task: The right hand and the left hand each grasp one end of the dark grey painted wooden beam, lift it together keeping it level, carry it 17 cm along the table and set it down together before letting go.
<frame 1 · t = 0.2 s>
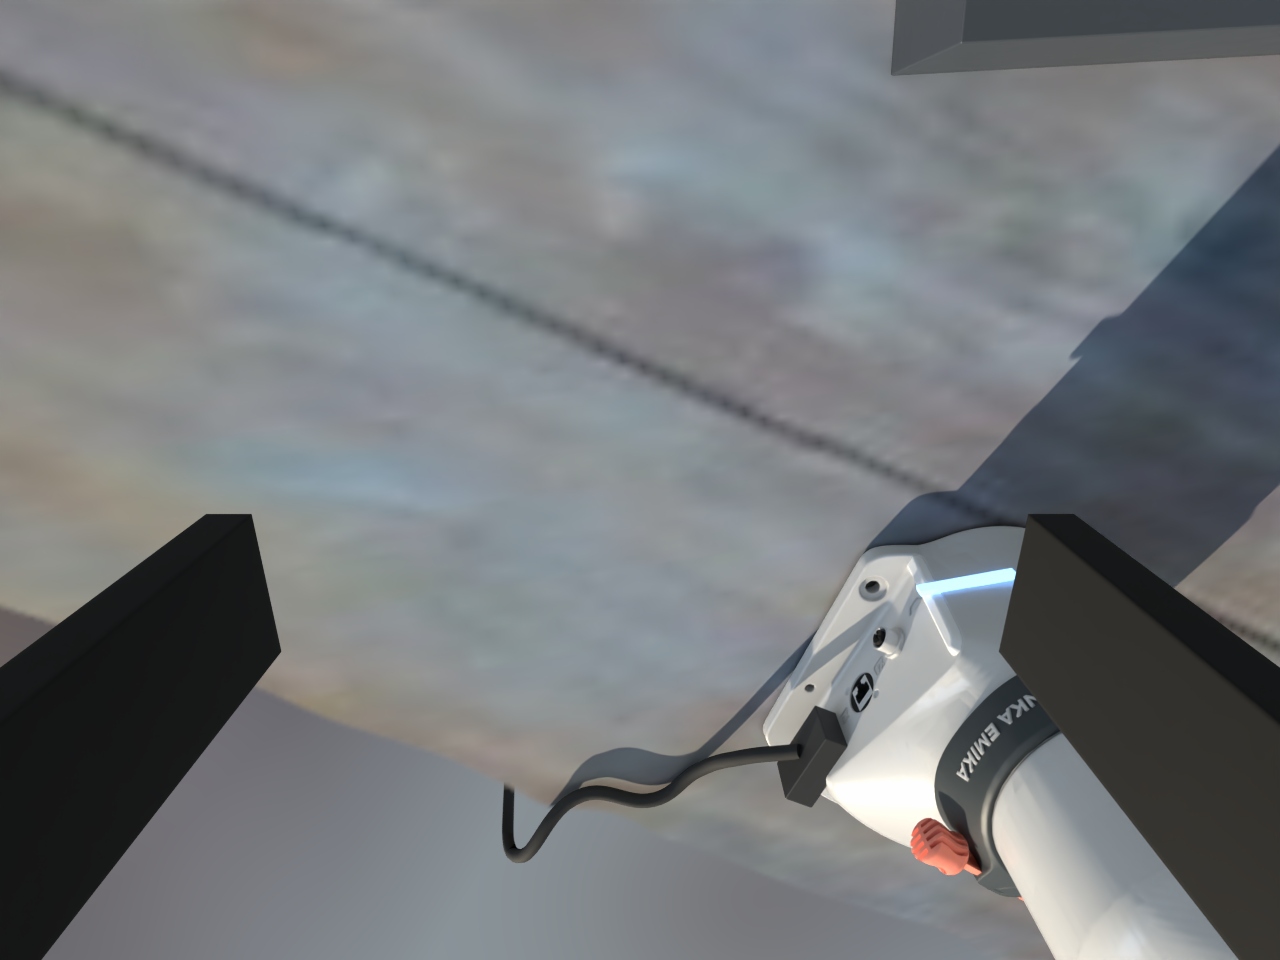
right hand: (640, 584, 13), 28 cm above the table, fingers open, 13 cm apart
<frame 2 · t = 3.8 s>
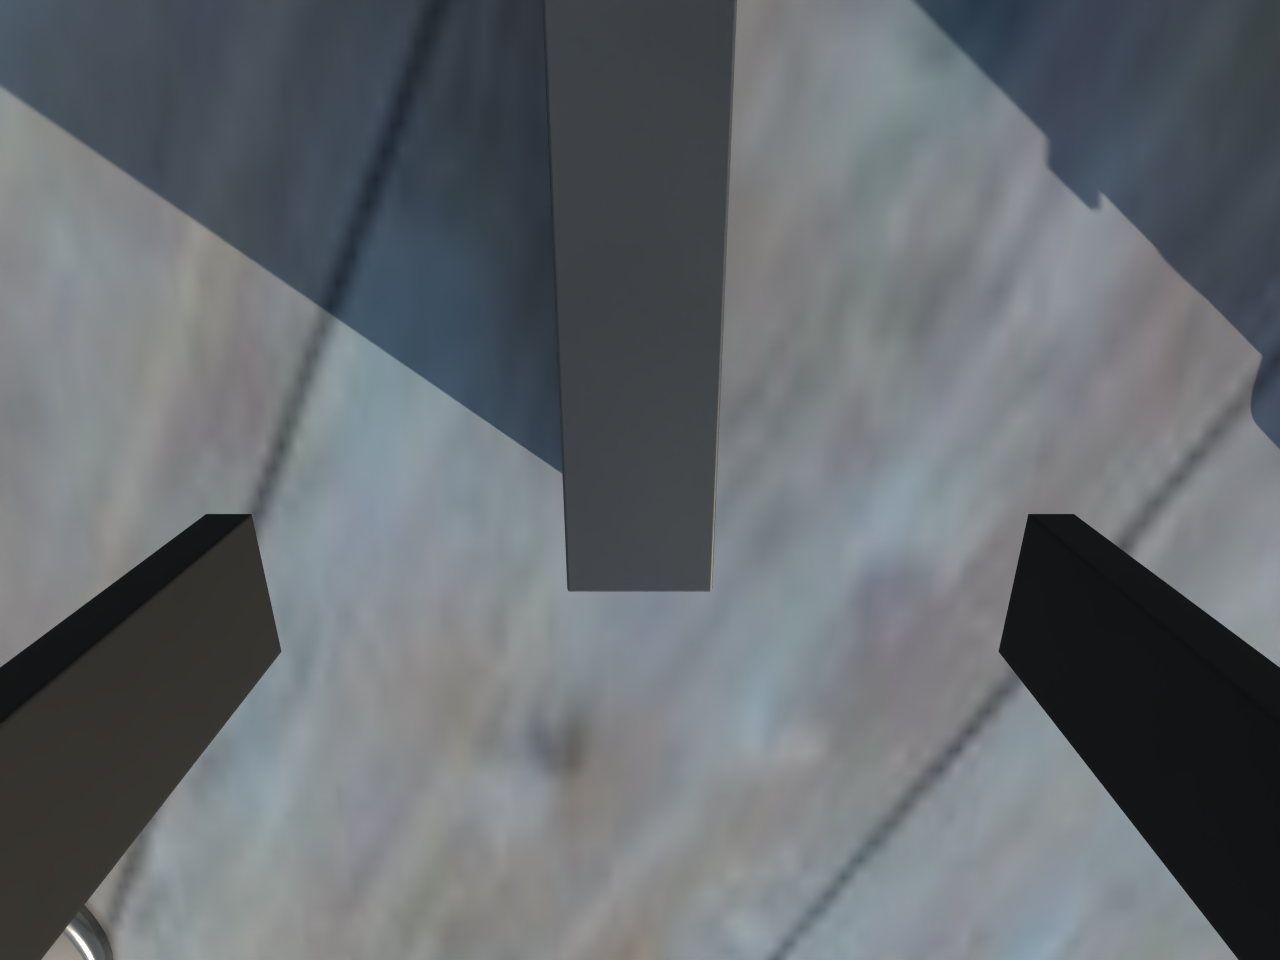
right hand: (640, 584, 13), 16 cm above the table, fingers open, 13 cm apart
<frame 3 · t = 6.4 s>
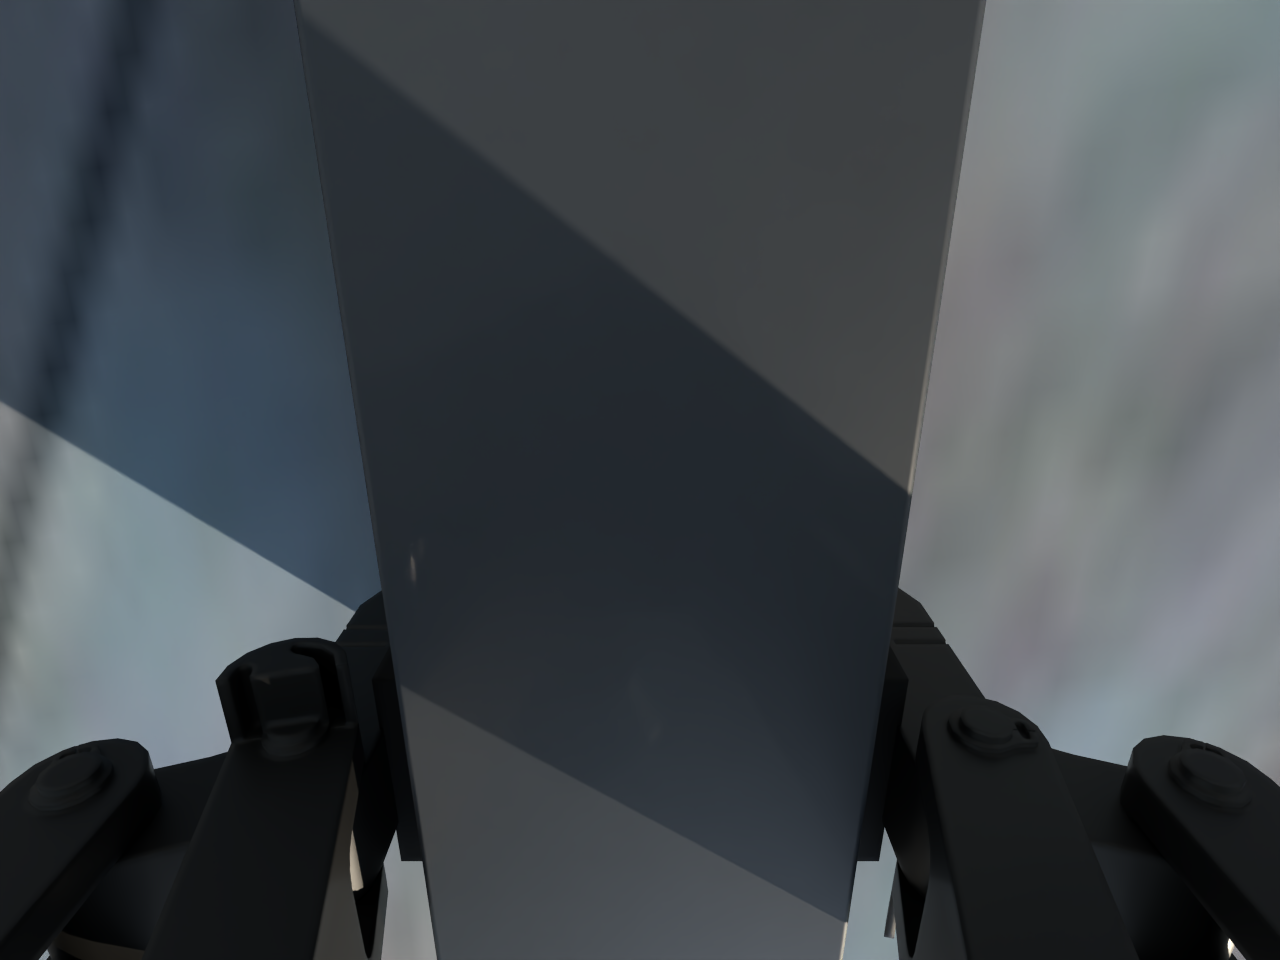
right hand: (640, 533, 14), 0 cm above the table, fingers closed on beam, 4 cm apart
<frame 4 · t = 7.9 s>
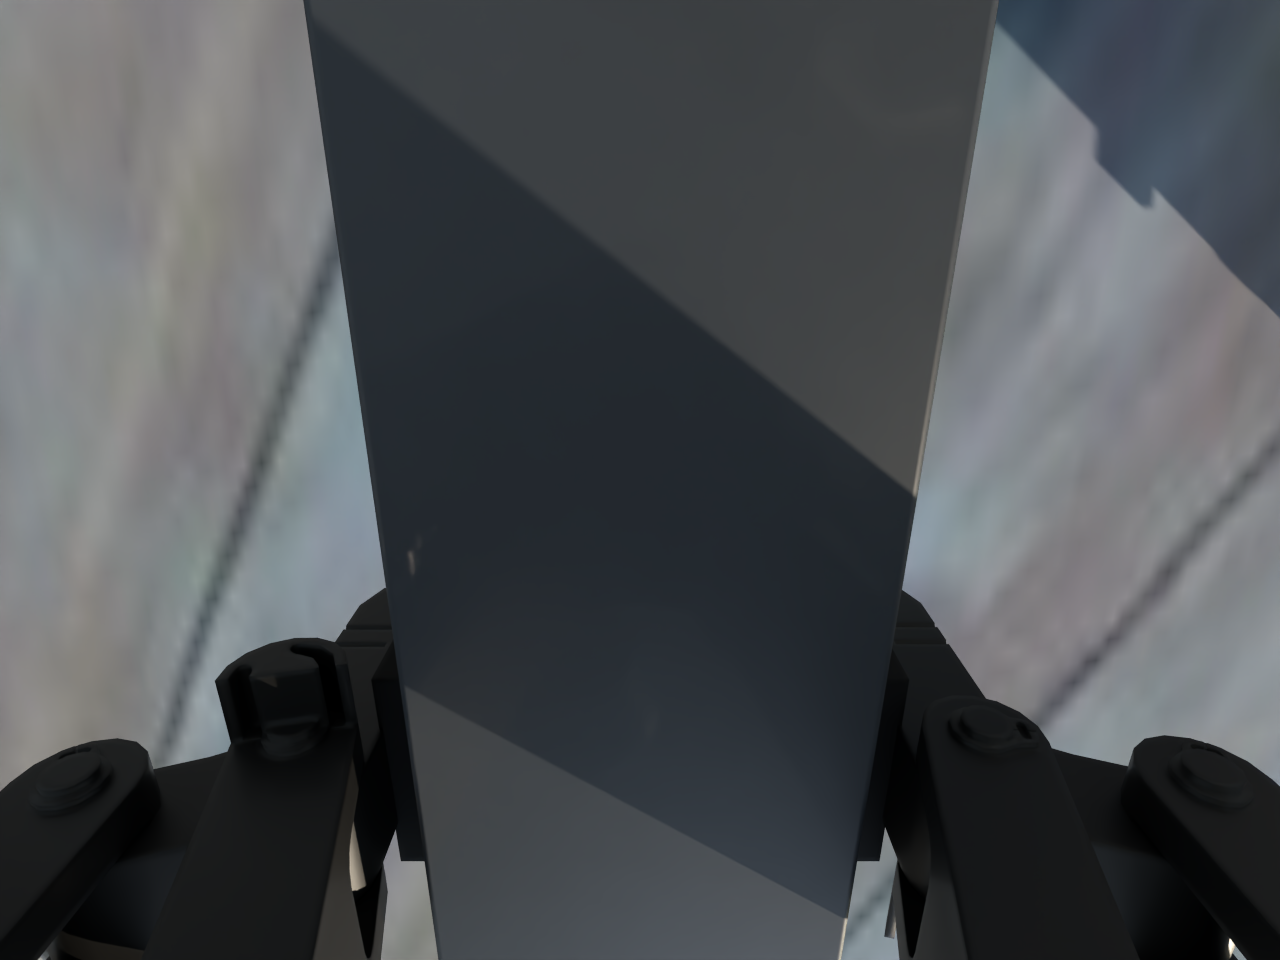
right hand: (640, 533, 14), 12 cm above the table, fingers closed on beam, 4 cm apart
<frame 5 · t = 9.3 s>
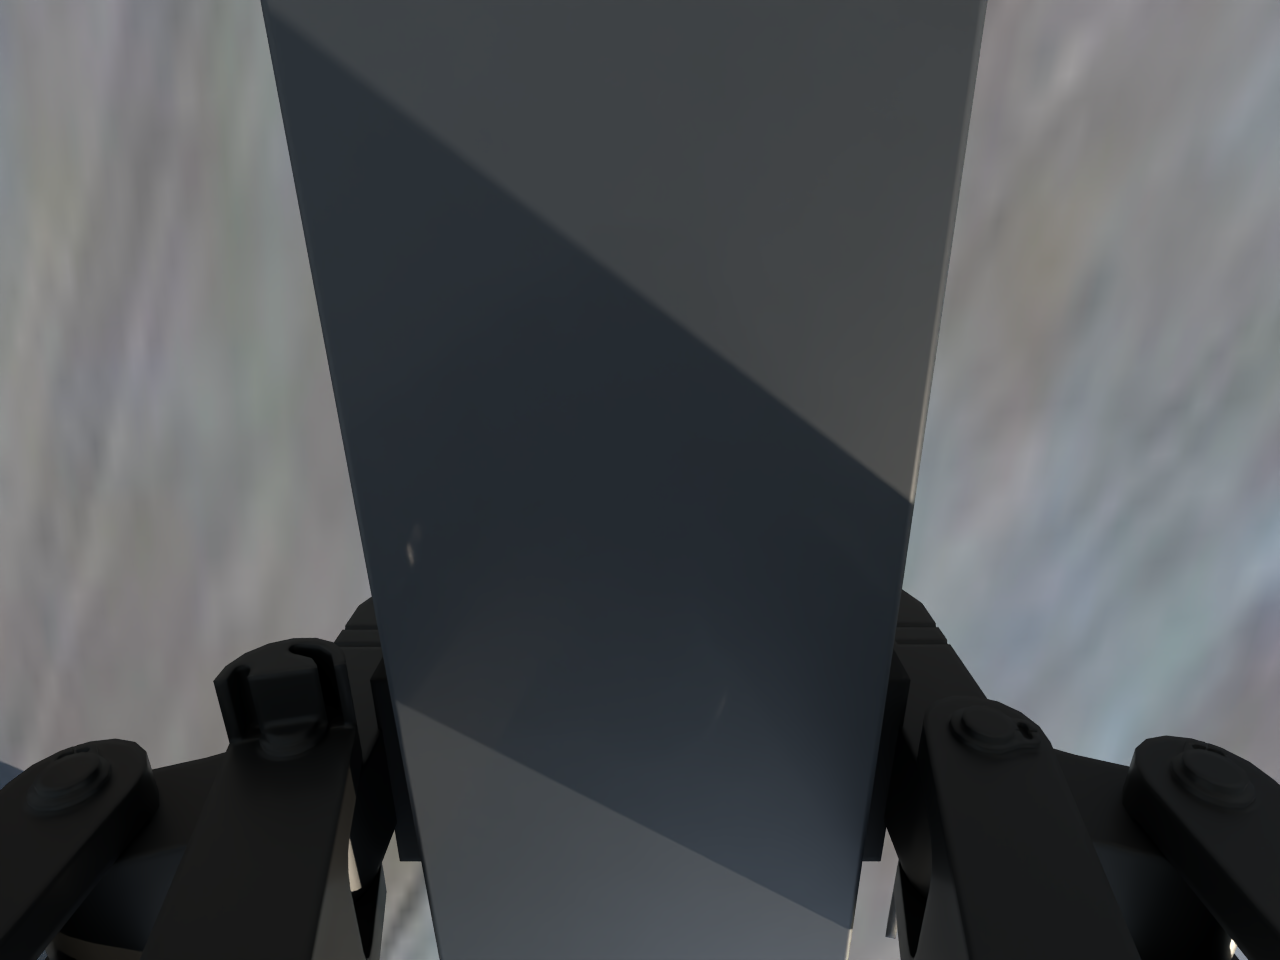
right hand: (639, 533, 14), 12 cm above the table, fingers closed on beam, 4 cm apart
when the right hand's fingers open (1 cm above the table, at t = 12.1 s): beam stays where it is, on the table.
when the left hand's fingers open (4 cm above the table, at t = 12.2 s): beam stays where it is, on the table.
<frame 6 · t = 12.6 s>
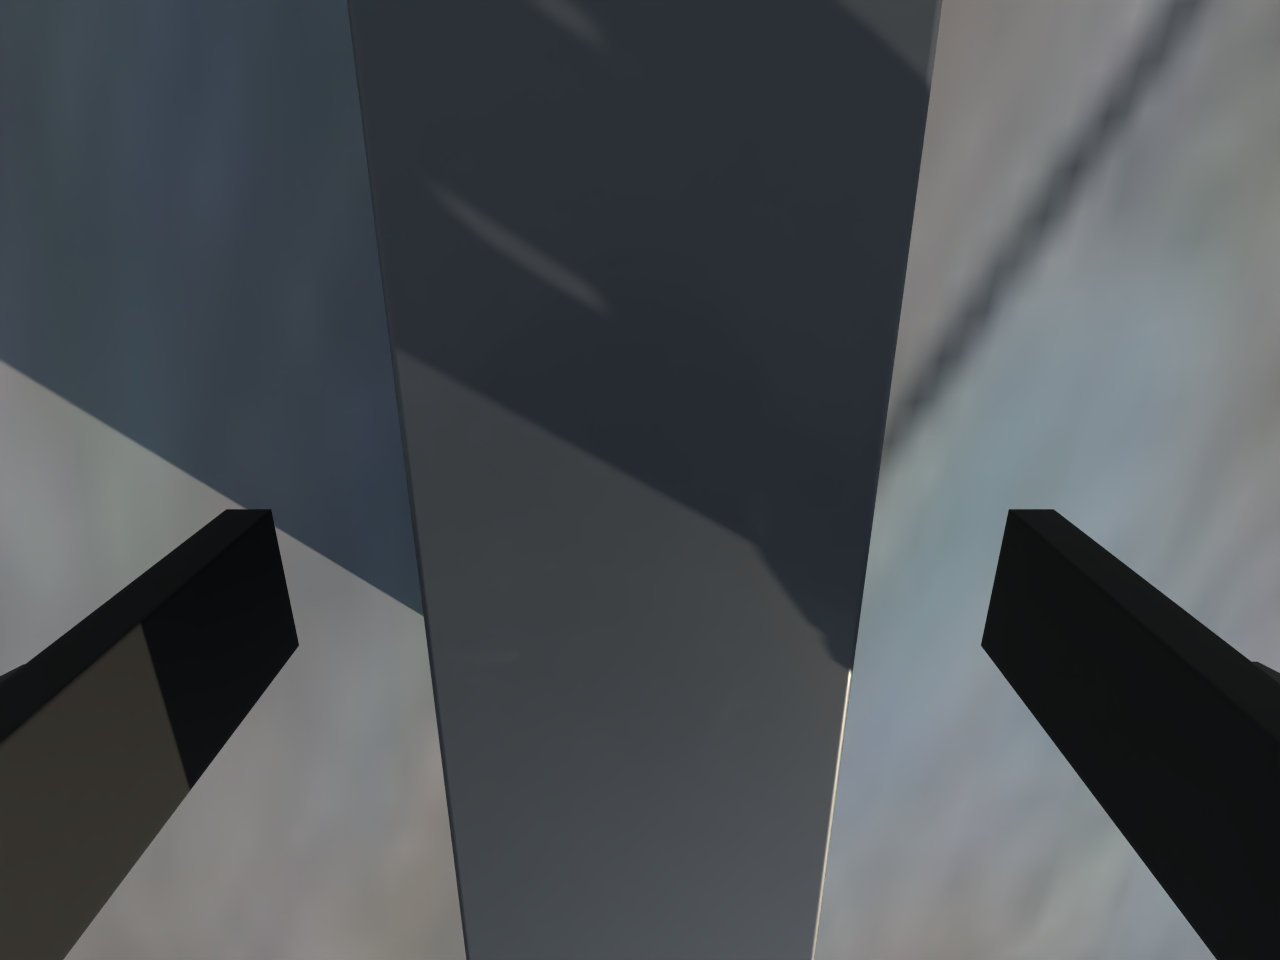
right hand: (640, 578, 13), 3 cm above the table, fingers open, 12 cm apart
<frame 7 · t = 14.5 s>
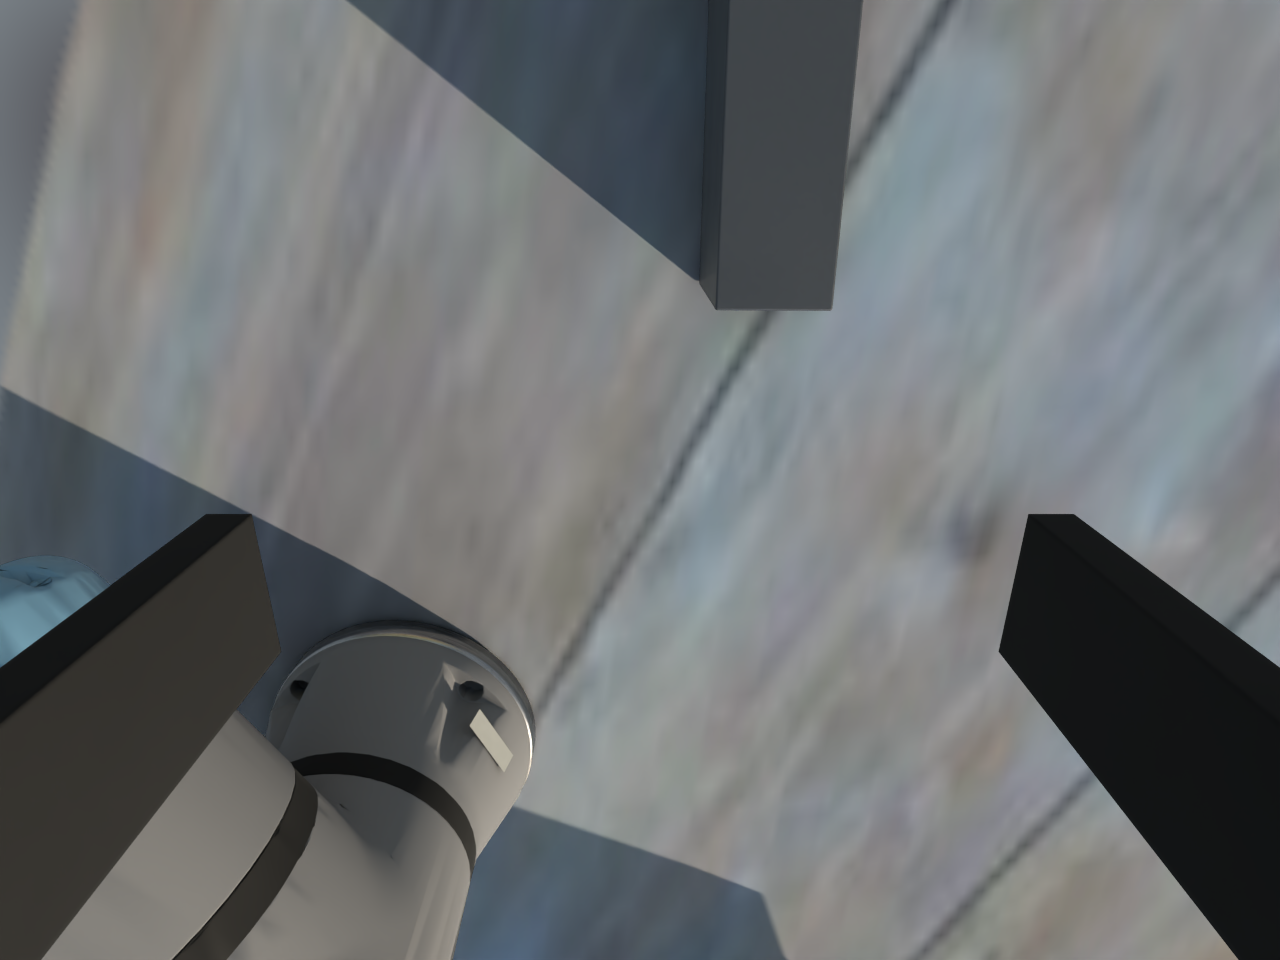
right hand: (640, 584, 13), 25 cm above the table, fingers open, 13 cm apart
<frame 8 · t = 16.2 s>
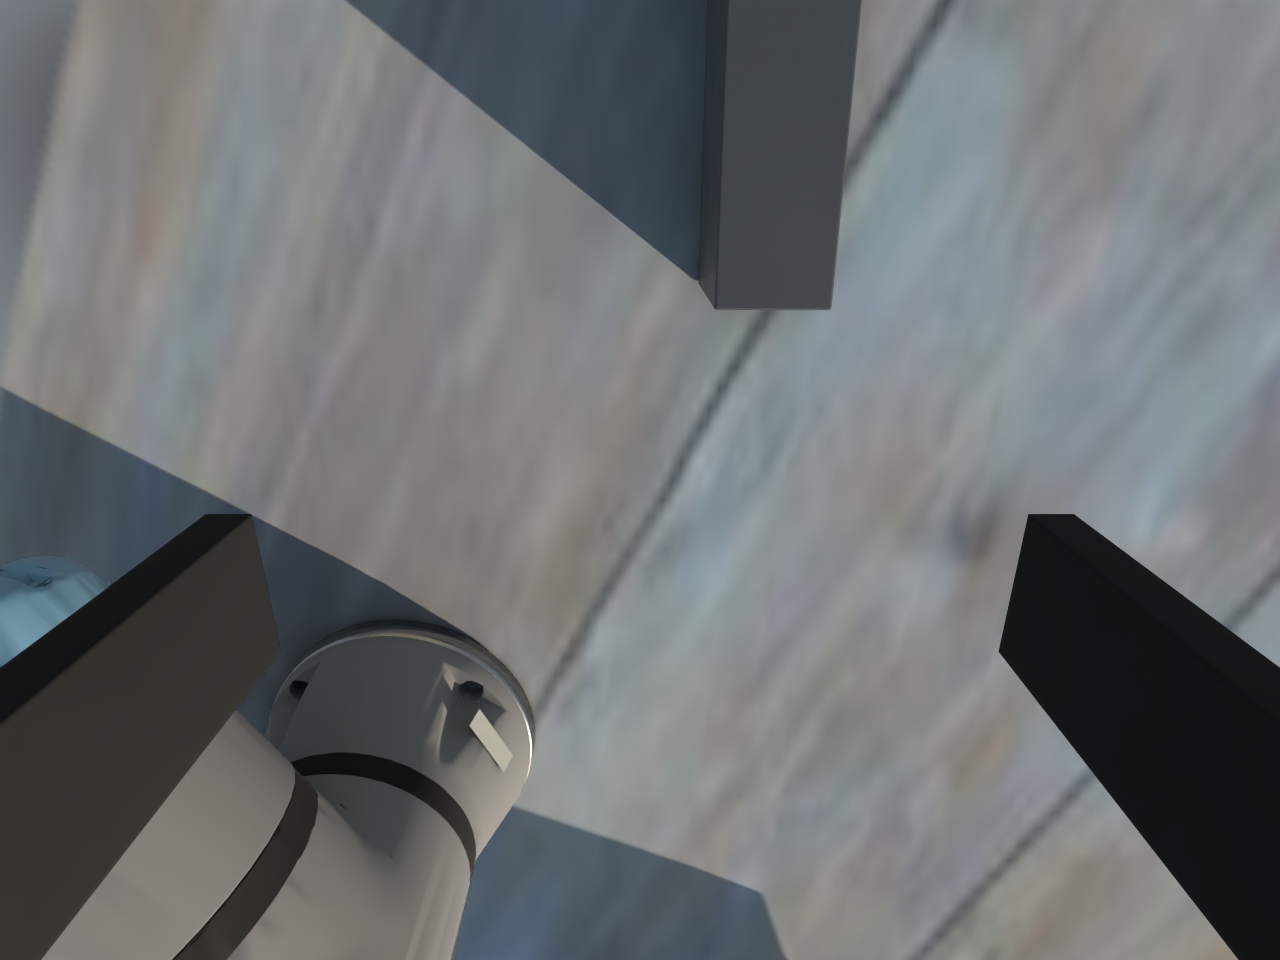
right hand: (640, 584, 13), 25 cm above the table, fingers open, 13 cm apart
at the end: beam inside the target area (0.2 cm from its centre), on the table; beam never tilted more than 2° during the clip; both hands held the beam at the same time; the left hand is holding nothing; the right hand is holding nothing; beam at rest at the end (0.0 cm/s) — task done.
